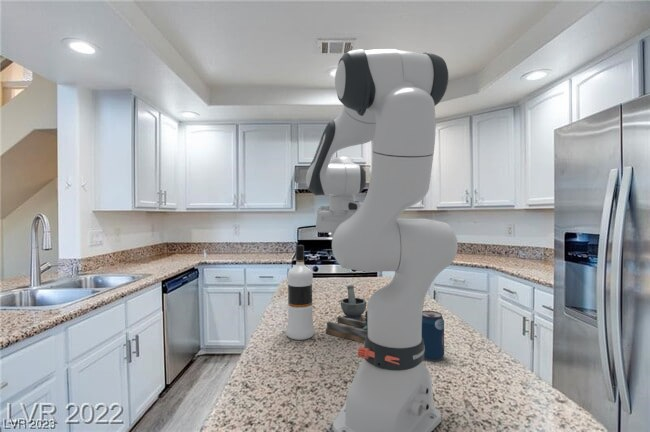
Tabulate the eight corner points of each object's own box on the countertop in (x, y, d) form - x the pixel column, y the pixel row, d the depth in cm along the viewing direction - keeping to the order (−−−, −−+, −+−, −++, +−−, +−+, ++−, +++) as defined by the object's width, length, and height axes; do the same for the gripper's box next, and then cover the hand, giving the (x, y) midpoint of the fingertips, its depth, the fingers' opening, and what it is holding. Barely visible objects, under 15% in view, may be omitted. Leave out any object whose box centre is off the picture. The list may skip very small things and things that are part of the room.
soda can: (449, 361, 84) (449, 316, 84) (425, 363, 83) (425, 318, 83) (436, 350, 91) (436, 309, 91) (413, 351, 90) (413, 310, 90)
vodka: (291, 343, 97) (290, 246, 97) (283, 332, 105) (282, 244, 105) (318, 338, 100) (318, 245, 100) (308, 328, 109) (308, 243, 109)
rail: (386, 336, 102) (386, 307, 102) (375, 346, 94) (374, 314, 94) (340, 325, 112) (339, 299, 112) (326, 333, 104) (325, 305, 104)
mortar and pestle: (368, 322, 115) (368, 290, 115) (343, 324, 113) (343, 291, 113) (361, 313, 126) (361, 283, 126) (338, 314, 125) (338, 284, 124)
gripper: (312, 206, 109) (312, 245, 109) (364, 204, 97) (364, 248, 97) (322, 206, 114) (322, 244, 114) (373, 205, 103) (373, 247, 103)
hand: (342, 246), depth 106 cm, fingers closed on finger, 3 cm apart
